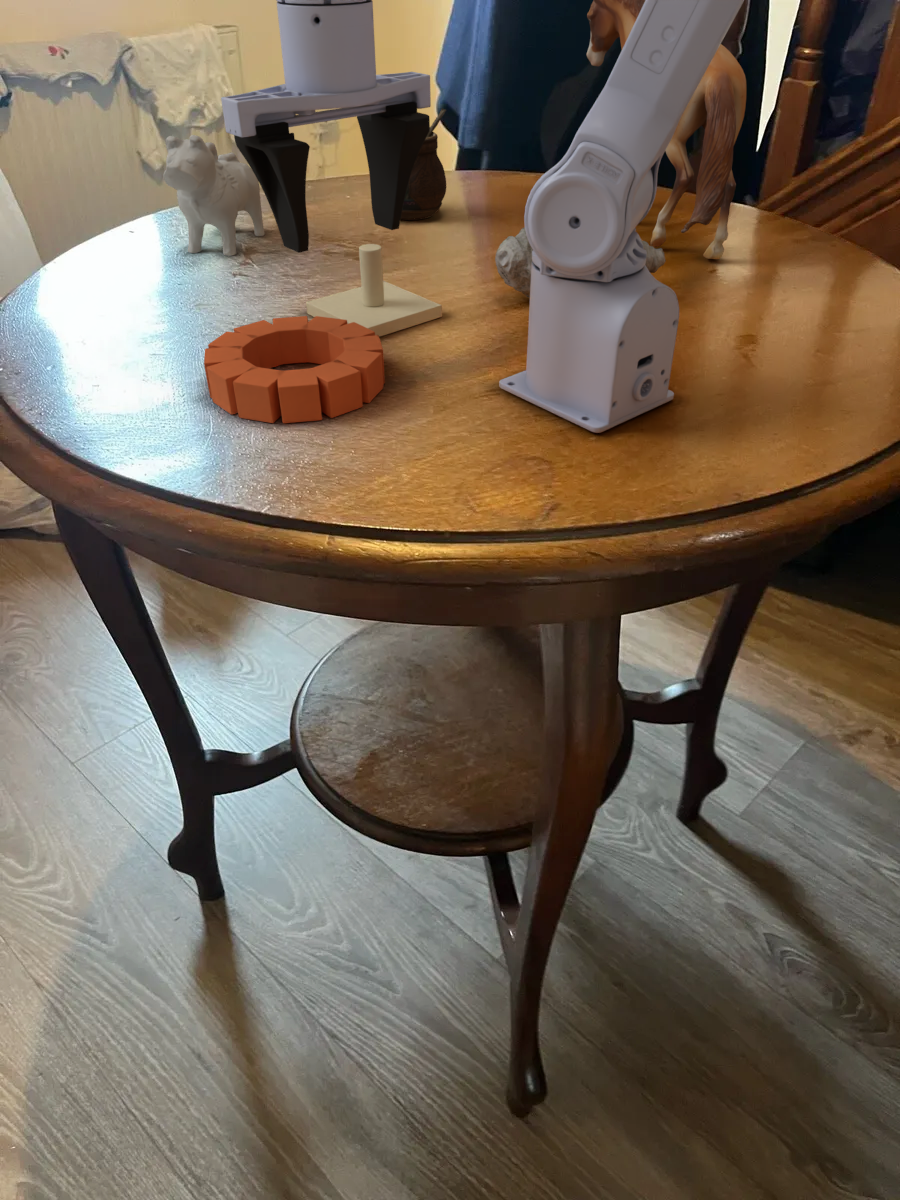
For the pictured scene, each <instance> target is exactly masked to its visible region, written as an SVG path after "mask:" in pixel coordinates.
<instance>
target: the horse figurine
mask: <svg viewBox="0 0 900 1200" xmlns="http://www.w3.org/2000/svg"><path fill="white" fill-rule="evenodd" d="M644 2H645V0H593V1H592V3H591V4H590V8H589V11H588V12H587V14H586V18H587V20H588V22H589V28H590V39H589V45H588V48H587V52H586V58H587V59H588V61H589V62H590V64H591V66H594V67H600V66H602V64H603V63H604V62H605V61H604V60H605V55H606V54H607V52H608V51H609V50H610V49H611V48H612V46H613V45H614V43H615V41H616V39H618V38H619V40H620V47H621V50H622V49H623V47H624V45H625V42H626V40H627V38H628V36H629V34H630V32H631V30H632V28H633V26H634V23H635V21H636V19H637V17H638V15H639V13H640V11H641V9H642V7H643V5H644ZM746 104H747V78H746V74H745V72H744V69H743V68H742V66H741V65H740V63H739V62H738V60H737V58H736V57H735V56H734V55H733V53H732V52H731V51H730V50H729V49H728V48H727V47H726V46H724V45H723V44H722V43H721V44H720V46H719V48H718V50H717V51H716V53H715V55H714V57H713V59H712V61H711V62H710V64H709V66H708V68H707V70H706V72H705V74H704V75H703V77H702V79H701V81H700V83H699V85H698V86H697V88H696V90H695V92H694V94H693V96H692V97H691V99H690V101H689V103H688V105H687V107H686V109H685V110H684V112H683V114H682V116H681V118H680V120H679V123H678V125H677V127H676V130H675V132H674V134H673V137H672V139H671V141H670V143H669V144H668V146H667V148H666V150H665V154H666V156H667V158H668V160H669V161H670V163H671V164H672V165H673V167H674V169H675V171H676V172H675V173H676V174H675V179H674V180H675V181H674V184H673V188H672V191H671V193H670V194H669V196H668V199H667V200H666V202H665V203H664V205H663V207H662V208H661V210H660V211H659V213H658V215H657V219H656V224H655V226H654V228H653V230H652V235H651V239H650V246H653V247H654V248H660V247H661V246H662V245H663V244H664V243H665V242H666V240H667V232H666V231H667V229H666V224H668V223H669V221H670V220H671V218H672V216H673V214H674V211H675V209H676V207H677V205H678V203H679V201H680V199H681V198H682V196H683V195H684V193H686V191H687V190H688V189H689V187H690V186H691V185H692V183H693V180H694V177H695V171H694V169H693V167H692V165H691V163H690V159H689V157H688V152H687V141H688V140H689V138H690V137H692V136H693V135H694V133H695V132H696V131H698V129H700V128H701V127H702V128H703V129H704V134H703V140H702V153H701V158H700V165H699V169H698V173H697V177H696V183H695V184H696V185H695V187H696V188H695V189H696V190H695V192H696V193H695V203H694V207H693V211H692V214H691V216H690V219H688V221H687V222H686V223H685V224H684V226H683V228H682V229H680V230H681V231H680V232H681V233H682V234H684V233H686V232H688V231H689V230H690V229H691V228H692V227H693V226H695V225H696V224H700V225H704V226H707V225H710V223H711V221H712V220H713V218H714V217H715V215H716V214H717V213H718V211H719V217H718V218H719V219H718V225H717V228H716V231H715V236H714V239H713V240H712V241H711V242H710V243H709V245H708V246H707V248H706V249H705V251H704V252H703V253H702V256H703V257H704V258H706V259H708V260H720V259H721V258H722V257H723V255H724V251H725V248H724V245H723V244H724V243H725V241H727V239H728V237H729V231H728V223H729V216H730V210H731V209H730V208H731V204H732V201H733V199H734V196H735V191H736V187H737V183H736V179H735V178H734V173H733V170H732V168H733V162H734V147H735V144H736V141H737V138H738V136H739V134H740V130H741V128H742V124H743V121H744V118H745V112H746ZM719 209H720V210H719Z"/></svg>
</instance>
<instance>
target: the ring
mask: <svg viewBox="0 0 900 1200" xmlns="http://www.w3.org/2000/svg"><path fill="white" fill-rule="evenodd" d="M384 357H385V356H384V348H383V344H382V341H381V339H380V337H379V335H375V332H374V331H372V330H370V329H368V328H366V327H364V326H362V325H359V324H357V323H355V322H352V323H349V324H347V320H343V319H335V318H327V317H320V316H315V317H313V318H312V319H310V320H309V319H308V316H307V315H300V316H288V317H274V318H272V323H271V322H269V321H267V320H265V319H262V320H258V321H254V322H251V323H248V324H245V325H241V326H237V327H233V331H225V332H224V333H222V334H221V335H219V336H218V337H217V338H215V339H214V340H212V341H211V342H210V343H208V344H207V348H204V358H203V359H204V360H203V367H204V372H205V377H206V383H207V388H208V393H209V398H210V399H212V402H213V404H215V405H217V407H219V408H221V409H222V410H223V411H226V413H228V414H230V415H236V414H238V418H240V419H245V420H250V421H256V422H263V423H268V424H269V423H270V424H274V423H275V422H276V421H277V420H278V419H280V417H281V421H282V424H294V423H303V422H314V421H322V420H323V414H324V415H326V416H327V417H329V418H331V419H333V418H336V417H338V416H342V415H344V414H347V413H350V412H352V411H355V410H358V409H360V408H363V407H364V403H366V404H370V403H371V402H372V401H373V400H374V399H375V398H376V396H377V395H378V394H379V393H380V392H381V391H382V390H383V389H384V384H386V376H385V363H384V362H385V361H384V360H385V359H384ZM303 363H310V364H315V365H316V364H317V365H316V366H314V367H310V368H301V369H300V368H299V369H298V368H297V369H287V370H281V369H273V368H276V367H279V366H283V365H288V364H289V365H290V364H291V365H292V364H303Z"/></svg>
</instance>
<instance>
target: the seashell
mask: <svg viewBox="0 0 900 1200" xmlns="http://www.w3.org/2000/svg"><path fill="white" fill-rule="evenodd" d="M640 239H641V242H642V244H643V248H644V250H646V252H647V257H646V264H645V265H646V267H647V269H648V270H649V272H650V273H651V274H654V273H656V272H657V271H658V270H659V269H660V268H661V267H662V266H664V265H665V263H666V261H667V260H666V256H665V251H664V250H663V248H662V247H658V248H656V247H653V246H651V245H649V243H648V242H647V241H646V240H643V239H642V238H641V237H640ZM532 251H533V249H532V247H531V245H530V244H529V241H528V238H527V235H526V230H525V226H524V227H522V228H521V229H520V230H519V232H518V233H517V234H516V235H515V236H513V235H509V236H507V238H505V239H504V240H503V241H502V242H501V243H500V244H499V246H498V248H497V250H496V252H495V257H494V261H495V266H496V270H497V273H498V275H499V276H500V279H502V280H503V281H504V284H505V285H507V286H508V287H512V288H513V289H514V290H515V291H517V292H520V293H521V294H523V295H525V296H526V297H527V298H528V299H530V284H531V264H532Z"/></svg>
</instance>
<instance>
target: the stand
mask: <svg viewBox="0 0 900 1200" xmlns="http://www.w3.org/2000/svg"><path fill="white" fill-rule="evenodd" d="M382 250H383V248H382V246H381V245H380V244H376V243H366V244H362V245H360V246H359V247H358V257H359V270H360V271H359V272H360V284H361V285H360V286H358V287H355V288H351V289H346V290H344V291H343V290H342V291H340V292H337V293H336V292H335V293H333V294H330V295H325V296H322V297H319V298H315V299H312V300H308V301H306V302H305V305H306V307H305V308H306V314H307V315H309V316H311V317H313V318H314V317H315V316H320V317H327V318H335V319H343V320H347V324H349V323H352V322H355V323H357V324H359V325H362V326H364V327H366V328H368V329H370V330H372V331H374V332H375V335H379V338H380V337H384V336H386V335H390V334H393V333H395V332H399V331H402V330H405V329H408V328H411V327H414V326H417V325H420V324H424V323H427V322H430V321H433V320H436V319H440V318H442V317H443V305H442V304H440V303H438V302H435V301H433V300H431V299H428V298H426V297H424V296H421V295H419V294H416V293H414V292H412V291H409V290H407V289H404V288H402V287H400V286H398V285H395V284H393V283H391V282H388V281H386V280H384V267H383V265H384V263H383V251H382Z"/></svg>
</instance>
